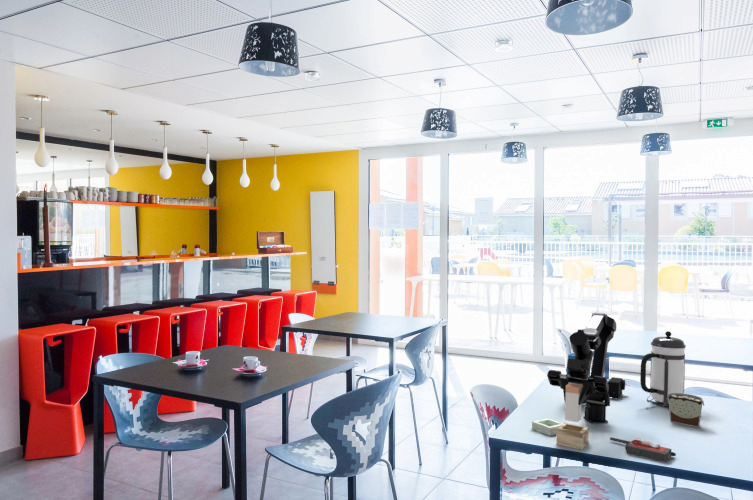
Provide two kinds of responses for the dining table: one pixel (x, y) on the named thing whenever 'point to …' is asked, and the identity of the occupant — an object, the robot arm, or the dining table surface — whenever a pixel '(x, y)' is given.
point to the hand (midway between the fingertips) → (572, 403)
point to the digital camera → (616, 387)
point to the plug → (573, 402)
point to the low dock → (546, 426)
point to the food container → (685, 408)
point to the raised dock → (572, 435)
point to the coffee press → (664, 368)
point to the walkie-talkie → (646, 449)
